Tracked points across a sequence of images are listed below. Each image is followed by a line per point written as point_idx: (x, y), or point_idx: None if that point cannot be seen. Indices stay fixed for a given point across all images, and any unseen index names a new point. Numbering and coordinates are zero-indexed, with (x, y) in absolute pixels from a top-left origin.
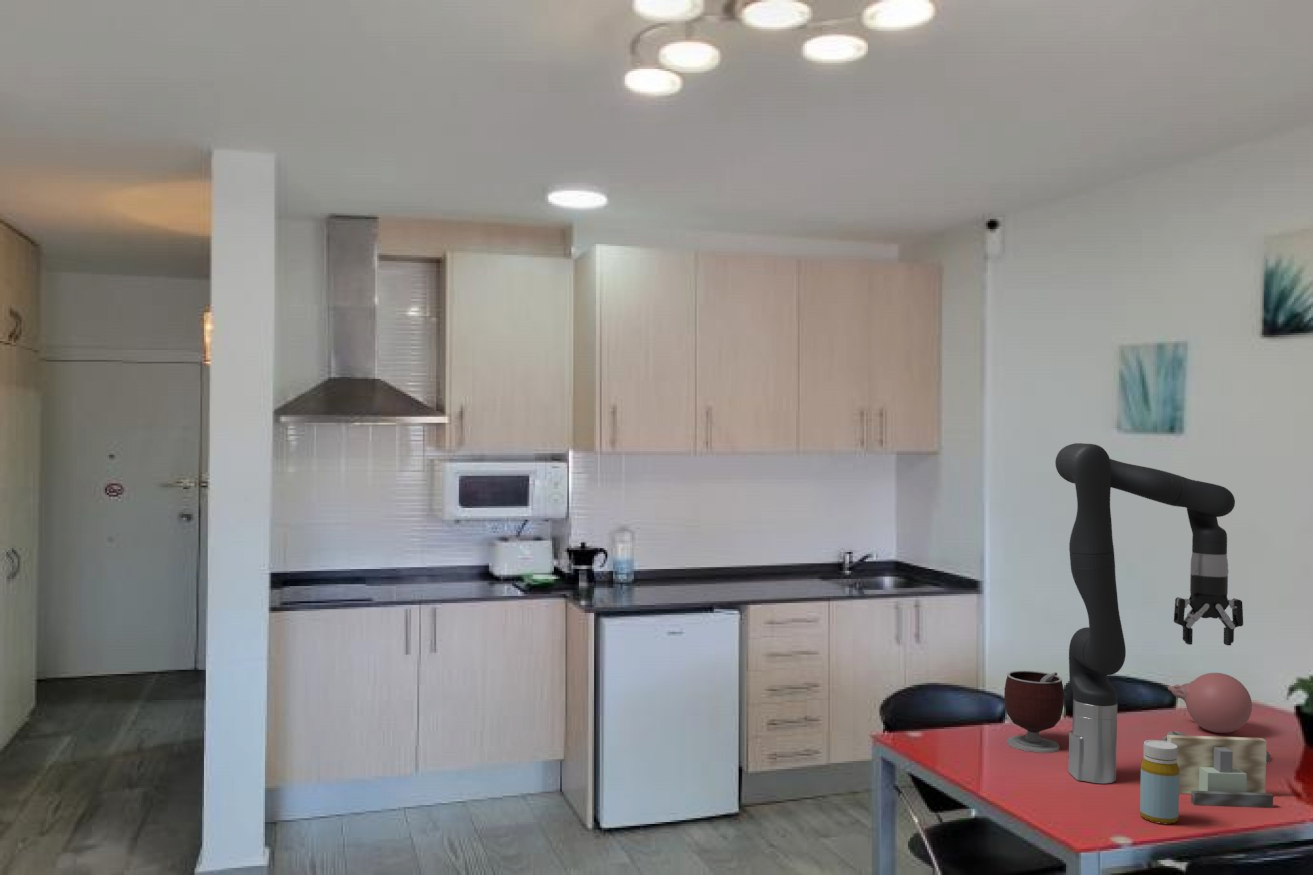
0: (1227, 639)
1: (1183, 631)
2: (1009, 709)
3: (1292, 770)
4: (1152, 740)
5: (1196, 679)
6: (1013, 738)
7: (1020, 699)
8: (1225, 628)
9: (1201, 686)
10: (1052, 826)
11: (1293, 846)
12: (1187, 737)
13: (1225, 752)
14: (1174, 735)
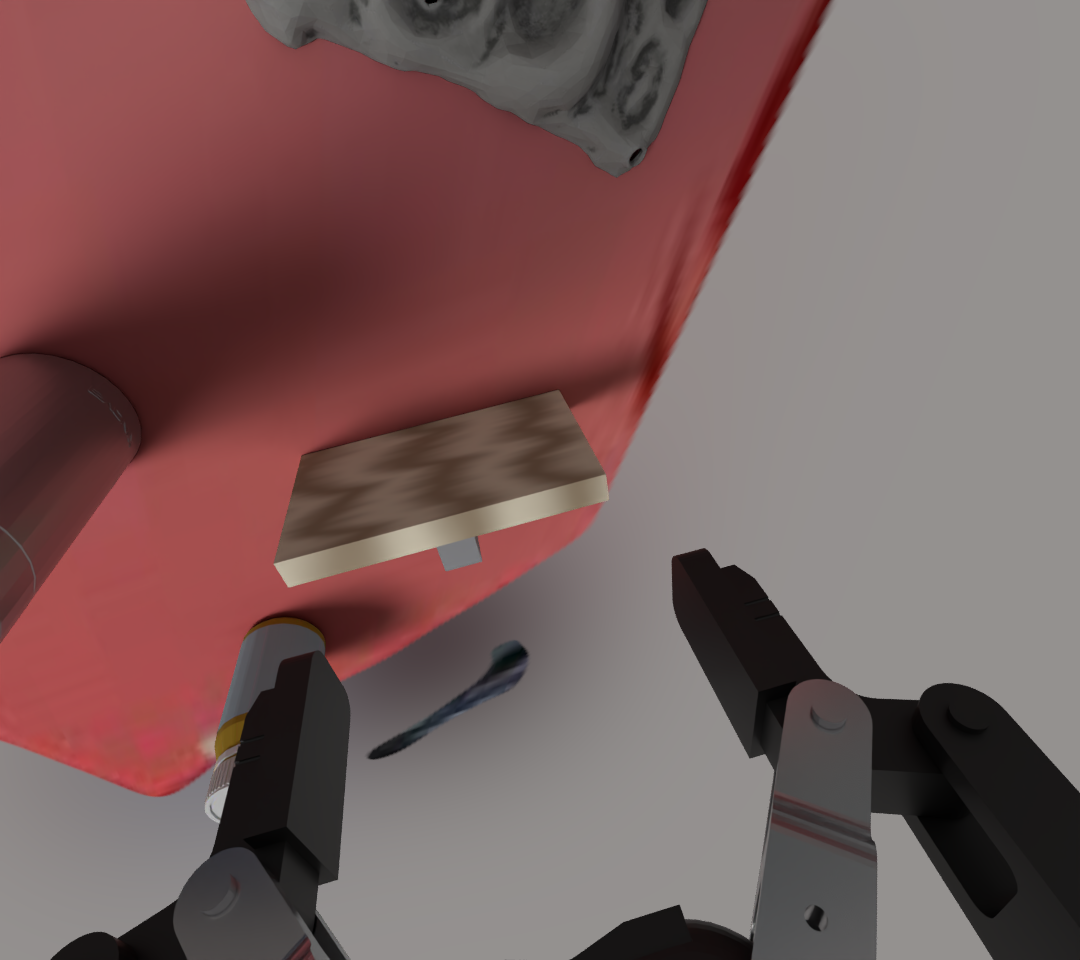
0: (696, 645)
1: (235, 810)
2: None
3: (766, 77)
4: (227, 788)
5: None
6: None
7: None
8: (753, 712)
9: None
10: (75, 748)
11: (517, 660)
12: (346, 564)
13: (460, 564)
14: (300, 558)
